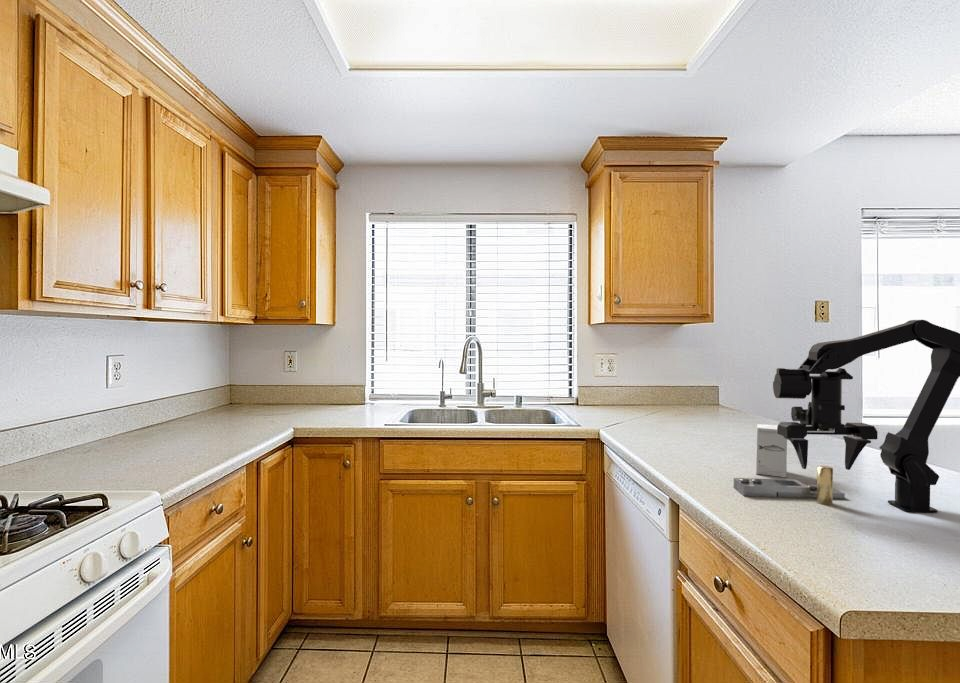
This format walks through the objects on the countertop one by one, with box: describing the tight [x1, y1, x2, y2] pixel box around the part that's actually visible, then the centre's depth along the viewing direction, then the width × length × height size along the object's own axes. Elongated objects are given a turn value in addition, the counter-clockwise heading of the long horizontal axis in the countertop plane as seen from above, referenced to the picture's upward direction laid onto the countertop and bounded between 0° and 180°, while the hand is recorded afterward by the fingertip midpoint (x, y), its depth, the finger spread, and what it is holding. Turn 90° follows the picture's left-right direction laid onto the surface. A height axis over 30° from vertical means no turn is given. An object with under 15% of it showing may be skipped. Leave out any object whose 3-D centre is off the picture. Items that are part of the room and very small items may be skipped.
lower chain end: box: [776, 484, 846, 500], centre depth 133 cm, size 7×14×2 cm, turn 85°
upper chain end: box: [733, 477, 810, 498], centre depth 134 cm, size 7×14×3 cm, turn 85°
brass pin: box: [816, 465, 834, 506], centre depth 126 cm, size 3×3×8 cm
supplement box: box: [755, 423, 788, 478], centre depth 152 cm, size 7×7×13 cm
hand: (825, 469), depth 126 cm, fingers open, 9 cm apart
